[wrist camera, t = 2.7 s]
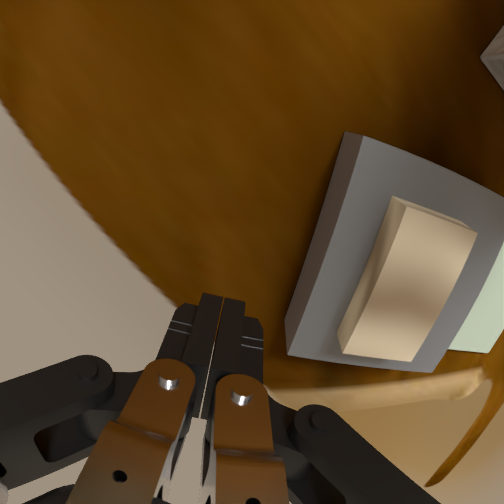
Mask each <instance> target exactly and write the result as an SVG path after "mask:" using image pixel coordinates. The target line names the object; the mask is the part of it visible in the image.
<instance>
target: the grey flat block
mask: <svg viewBox="0 0 504 504" xmlns="http://www.w3.org/2000/svg"><path fill="white" fill-rule="evenodd" d="M392 196H394V197H397V198H400V199H403V200H406V201H409V202H412V203H414V204H417V205H420V206H423V207H425V208H428V209H431V210H434V211H436V212H439V213H441V214H444V215H447V216H449V217H452V218H454V219H457V220H459V221H461V222H463V223H464V224H466V225H467V226H468V227H470V228H471V229H473V230H474V231H475V232H477V233H478V234H477V237H476V239H475V242H474V244H473V246H472V249H471V251H470V253H469V256H468V258H467V260H466V262H465V264H464V267H463V269H462V271H461V273H460V275H459V277H458V279H457V281H456V283H455V285H454V287H453V289H452V291H451V293H450V295H449V297H448V299H447V301H446V303H445V305H444V307H443V309H442V310H441V312H440V314H439V316H438V318H437V320H436V321H435V323H434V325H433V327H432V328H431V330H430V332H429V333H428V335H427V337H426V339H425V340H424V342H423V344H422V345H421V347H420V348H419V350H418V352H417V353H416V355H415V356H414V358H413V360H412V361H411V362H407V361H398V360H389V359H381V358H373V357H365V356H358V355H351V354H344V353H342V350H341V346H340V343H339V339H338V335H337V330H338V328H339V326H340V324H341V322H342V320H343V318H344V315H345V313H346V311H347V309H348V307H349V304H350V302H351V300H352V297H353V295H354V293H355V291H356V288H357V286H358V284H359V281H360V279H361V276H362V274H363V272H364V269H365V267H366V264H367V262H368V259H369V257H370V254H371V252H372V249H373V247H374V244H375V242H376V239H377V236H378V234H379V231H380V228H381V226H382V223H383V220H384V217H385V215H386V212H387V209H388V206H389V203H390V200H391V198H392ZM503 242H504V197H502V196H500V195H498V194H497V193H495V192H493V191H491V190H489V189H487V188H485V187H483V186H481V185H479V184H477V183H475V182H473V181H471V180H469V179H467V178H465V177H463V176H461V175H459V174H457V173H455V172H453V171H450V170H448V169H446V168H444V167H442V166H439V165H437V164H435V163H433V162H430V161H428V160H426V159H423V158H421V157H418V156H416V155H414V154H411V153H409V152H406V151H404V150H401V149H399V148H396V147H393V146H391V145H388V144H386V143H383V142H380V141H377V140H375V139H372V138H369V137H366V136H363V135H359V134H355V133H351V132H347V131H345V132H344V136H343V139H342V143H341V146H340V150H339V153H338V157H337V160H336V163H335V167H334V170H333V174H332V177H331V180H330V184H329V187H328V190H327V193H326V197H325V200H324V203H323V206H322V210H321V213H320V216H319V219H318V222H317V225H316V228H315V232H314V235H313V238H312V241H311V244H310V247H309V250H308V253H307V256H306V259H305V262H304V265H303V268H302V271H301V274H300V277H299V279H298V282H297V285H296V288H295V291H294V294H293V297H292V300H291V302H290V305H289V308H288V311H287V314H286V316H285V319H284V320H285V333H286V347H287V355H290V356H296V357H302V358H308V359H315V360H321V361H328V362H335V363H342V364H350V365H357V366H366V367H374V368H383V369H393V370H404V371H415V372H429V373H432V372H433V370H434V369H435V367H436V366H437V364H438V363H439V361H440V360H441V358H442V357H443V355H444V354H445V352H446V351H447V349H448V348H449V346H450V344H451V343H452V341H453V340H454V338H455V336H456V335H457V333H458V331H459V330H460V328H461V326H462V325H463V323H464V321H465V319H466V318H467V316H468V314H469V312H470V311H471V309H472V307H473V305H474V303H475V301H476V300H477V298H478V296H479V294H480V292H481V290H482V288H483V286H484V284H485V282H486V280H487V278H488V276H489V274H490V272H491V269H492V267H493V265H494V263H495V261H496V259H497V256H498V254H499V252H500V249H501V247H502V245H503Z"/></svg>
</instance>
